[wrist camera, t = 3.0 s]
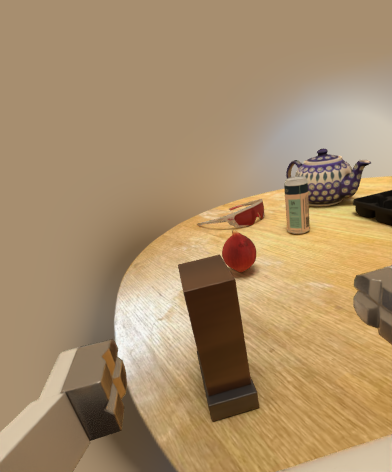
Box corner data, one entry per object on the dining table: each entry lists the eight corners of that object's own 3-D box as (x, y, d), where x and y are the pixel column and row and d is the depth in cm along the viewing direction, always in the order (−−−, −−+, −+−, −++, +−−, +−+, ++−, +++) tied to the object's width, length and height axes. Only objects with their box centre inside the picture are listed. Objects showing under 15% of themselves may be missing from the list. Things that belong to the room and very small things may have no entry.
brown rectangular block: (259, 408, 23) (241, 283, 18) (212, 422, 22) (181, 299, 18) (237, 353, 29) (219, 250, 24) (199, 364, 28) (174, 261, 24)
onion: (258, 263, 47) (253, 222, 45) (258, 279, 42) (252, 235, 40) (227, 264, 49) (221, 226, 46) (223, 280, 44) (216, 238, 41)
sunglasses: (241, 233, 62) (236, 213, 61) (197, 235, 75) (192, 219, 74) (278, 211, 73) (274, 194, 72) (233, 216, 86) (229, 202, 85)
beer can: (305, 226, 60) (303, 174, 55) (313, 233, 55) (311, 177, 51) (284, 229, 60) (281, 178, 56) (290, 236, 56) (286, 182, 52)
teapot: (273, 203, 82) (269, 156, 77) (306, 191, 88) (304, 147, 83) (347, 215, 61) (348, 151, 56) (385, 199, 66) (389, 139, 61)
